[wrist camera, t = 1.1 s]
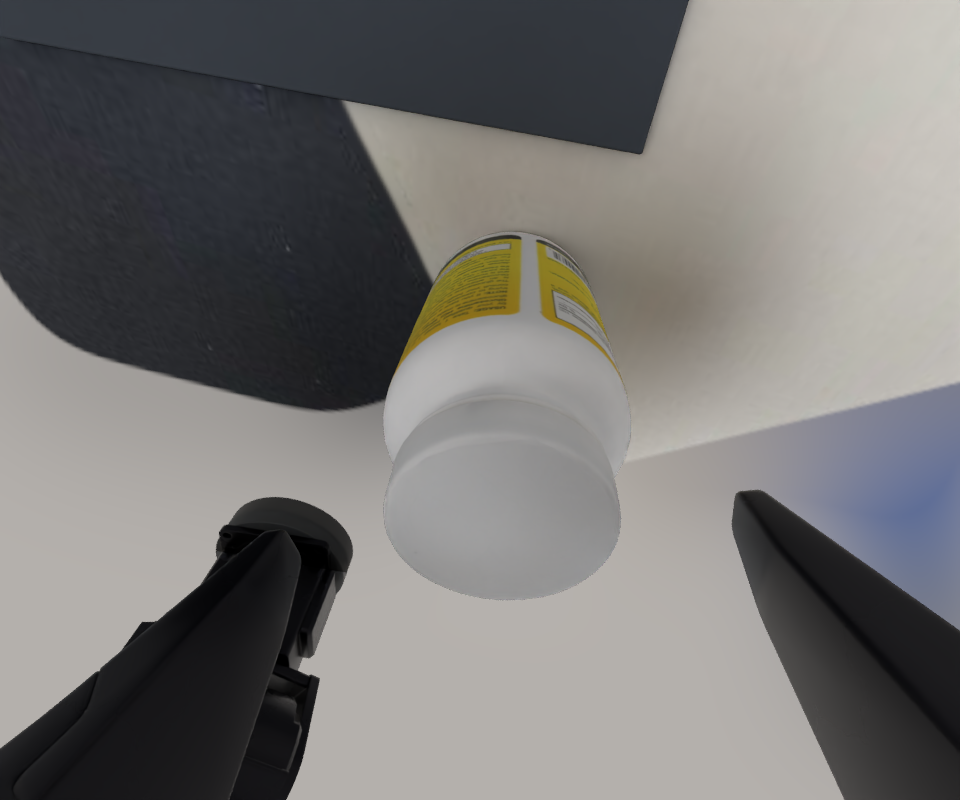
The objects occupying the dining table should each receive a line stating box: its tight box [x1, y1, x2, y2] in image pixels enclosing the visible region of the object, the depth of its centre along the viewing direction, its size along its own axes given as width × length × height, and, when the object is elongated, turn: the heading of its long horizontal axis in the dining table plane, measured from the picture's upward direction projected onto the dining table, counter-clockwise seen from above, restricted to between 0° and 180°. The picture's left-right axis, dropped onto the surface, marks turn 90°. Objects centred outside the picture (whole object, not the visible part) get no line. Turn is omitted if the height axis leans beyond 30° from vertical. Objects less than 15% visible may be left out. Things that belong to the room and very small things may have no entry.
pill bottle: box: [383, 232, 631, 600], centre depth 14 cm, size 6×6×11 cm
